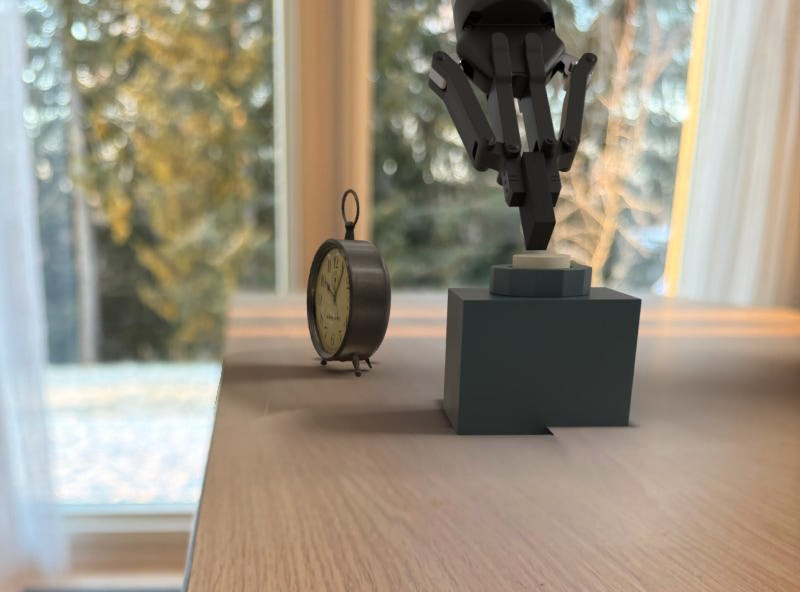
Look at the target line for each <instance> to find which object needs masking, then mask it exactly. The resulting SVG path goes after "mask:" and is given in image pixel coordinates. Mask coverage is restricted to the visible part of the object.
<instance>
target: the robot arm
mask: <svg viewBox="0 0 800 592" xmlns="http://www.w3.org/2000/svg"><path fill="white" fill-rule="evenodd" d="M450 4H451V10H452V19H453V25H454V31H455V39H456V44H455V51H453V52H452V53H450V54H448V53H447V52H445V51H444V50H443V51H442V50H437V51H435V52H433V54H432V57H431V61H430V62H431V63H430V64H431V65H430V70H429V75H428V80H427V86H428V87H429V89H430V90H431V91H432V92H433V93H434V94H436V95H437V96H438V97H439V98H440V99H441V100H442V102H443V103H444V105H445V107H446V110H447V112H448V114H449V117H450V118H451V120H452V123H453V125H454V127H455V129H456V131H457V134H458V136H459V138H460V140H461V143H462V144H463V147H464V149H465V151H466V153H467V155H468V157H469V159H470V162H471V164H472V166H473V168H474V169H475V170H476V171H477V172H480V173H484V172H488V171H489V169H490V170H493V171H496V172H497V176H496V180H495V181H496V184H498V185H499V186H500V187H502V188H503V195H504V201H505V202H504V203H506V205H507V206H508V208H518V211H519V217H520V223H521V229H522V235H523V241H524V246H525V251H547V250H548V246H549V243H550V241H551V239H552V235H553V232H554V229H555V228H556V224H557V219H556V213H555V208H556V206H557V203H558V200H559V197H560V194H561V191H562V188H563V186H562V185H563V184H562V181H561V176H560V175H561V174H560V172H561V173H568V172H570V171H571V169H572V166H573V164H574V161H575V158H576V155H577V152H578V149H579V146H580V143H581V138H582V128H583V120H584V114H585V113H584V112H585V104H586V103H585V102H586V96H587V91H588V89H589V88H590V84H591V81H592V78H593V75H594V73H595V69H596V66H597V63H598V56H597V55H596V54H595V53H593V52H585V53H584V54H582V55H581V57H580V58H578V57H576V56H573V55H572V54H569V53H567V52H566V45H565V42H564V41H563V40H562V39H561V38H560V37H559V35H558V34H557V31H556V22H555V14H554V10H553V5H552V0H450ZM558 72H559V74H560V75H561V78H560V82H561V83H562V90H563V91H564V92H565V94H564V97H563V100H562V107H561V116H560V124H559V133H558V138H557V137H556V133H555V128H554V121H553V117H552V112H551V108H550V101H549V97H548V92H547V85H548V84H550V82H551V81H552V79H553V78H554V77H555V75H556V74H557V73H558ZM471 84H472V85H474V87H476V88H477V89H478V91H480V92H481V93H482V94H483V98H484V103H485V109H486V113H487V114H488V116H489V120H488V119H487V117H486V114H485V112H484V110H483V109H482V106H481V104H480V102H479V99H478V98H477V95H476V93H475V91H474V89H473V87H472V85H471ZM515 99H516V101H517V107H518V112H519V113H520V114H522V115H521V116H522V120H523V125H524V131H525V137H526V143H527V148H528V151H522V148H523V144H522V139H521V133H520V126H519V121H518V115H517V110H516V103H515ZM489 121H490V123H489ZM521 152H522V153H521Z"/></svg>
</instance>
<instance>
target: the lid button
mask: <svg viewBox="0 0 800 592" xmlns="http://www.w3.org/2000/svg"><path fill="white" fill-rule="evenodd" d="M512 264H513V265H512V267H513V268H535V269H557V268H570V264H571V255H570V254H564V253H563V254H562V253H517V254H514V255H512Z"/></svg>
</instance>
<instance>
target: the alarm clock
mask: <svg viewBox="0 0 800 592" xmlns="http://www.w3.org/2000/svg"><path fill="white" fill-rule="evenodd" d="M349 194H352V196H353V198H354V202H355V204H356V213H355V218H354V221H352V220H349V221H348V220H347V217H346V211H345V210H346V209H345V207H346V205H345V204H346V200H347V196H348V195H349ZM360 209H361V208H360V199H359V196H358V194H357V192H356V191H355V190H354V189H352V188H348V189H346V190H345V191H344V193H343V195H342V198H341V209H340V210H341V216H342V220H343V222H344V228H345V233H344V238H342V239H341V238H340V239H338V238H332V237H331V238H327V239H325V240H324V241H323V242H322V243H321V244H320V246H318V248H317V250H316V252H315V254H314V255H313V259H312V261H311V265H310V268H309V274H308V279H307V286H306V318H307V328H308V331H309V336H310V341H311V343H312V345H313V348H314V350H315V351H316V353H317V355H318V356H319V357H320V358H321V361H320V365H321V366H323V367H325V366H327V365H328V362H341V363H345V362H351V363H352V366H353V368H354V376H355V377H357V378H360V377H361V376H362V373H363V372H362V371H361V368H360V362H363V361H365V363H366V364H367V366H368V367H369V369H373V365H372V363H371V360H370V358H371V357H372V356H374V355H375V354H376V352H377V351H378V350H379V348H380V347H381V345H382V343H383V341H384V339H385V337H386V333H387V330H388V326H389V321H390V316H391V309H392V307H391V306H392V288H391V287H392V285H391V277H390V273H389V268H388V266H387V263H386V260H385V258H384V256H383V254H382V252H381V251H380V249H379V248H378V247H377V246H376V245H375V244H374V243H372V242H370V241H368V240H364V239H363V240H362V239H355V228H356V225H357V223H358V221H359V218H360Z"/></svg>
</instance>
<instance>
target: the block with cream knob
mask: <svg viewBox="0 0 800 592" xmlns="http://www.w3.org/2000/svg"><path fill="white" fill-rule="evenodd" d="M512 265H513V263H507V264H495V265H491V266H490V269H489V271H490V272H489V287H448V288H447V303H446V304H447V305H446V327H445V352H444V353H445V355H444V375H443V376H444V377H443V378H444V379H443V402H442V404H443V405H442V409H443V411H444V413H445V415H446V417H447V419H448V421H449V423H450V425H451V426H452V428H453V430H454V432H455V434H456V435H457V436H554V435H555V434H554V433H553V432H552V430H550V428H548V427H629V422H630V413H631V403H632V393H633V387H634V386H633V384H634V375H635V366H636V357H637V356H636V355H637V350H638V349H637V348H638V339H639V329H640V322H641V321H640V320H641V312H642V311H641V310H642V302H643V299H642V298H639V297H637V296H634V295H630V294H627V293H624V292H621V291H618V290H616V289H612V288H610V287H606V286H592V277H593V266H591V265H590V266H589V265H584V264H571V263H570V268H557V269H535V268H513V267H512Z"/></svg>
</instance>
